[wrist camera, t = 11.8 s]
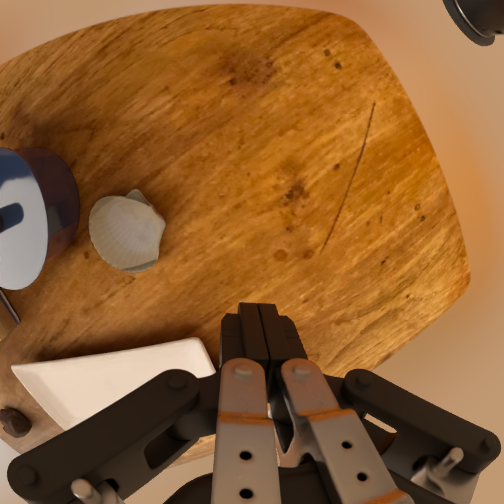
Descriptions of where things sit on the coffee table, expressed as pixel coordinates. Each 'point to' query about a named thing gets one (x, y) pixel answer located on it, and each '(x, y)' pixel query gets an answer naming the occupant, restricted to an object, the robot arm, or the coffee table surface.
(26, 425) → the dark brown rock
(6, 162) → the pot lid
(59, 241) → the pot
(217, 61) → the coffee table surface
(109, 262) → the seashell
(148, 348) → the white slab
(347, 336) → the coffee table surface
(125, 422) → the robot arm
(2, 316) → the book
